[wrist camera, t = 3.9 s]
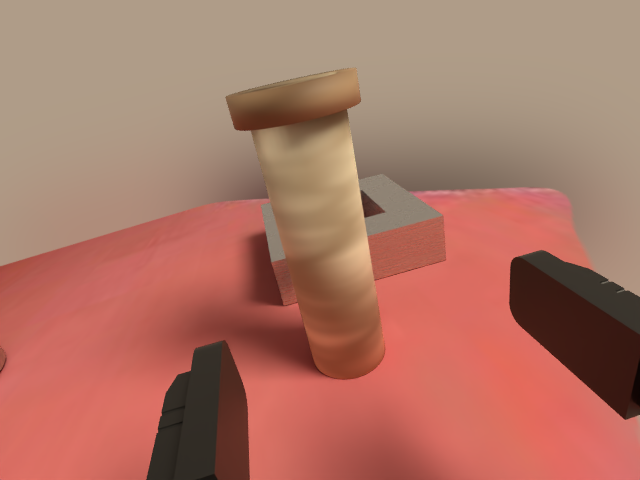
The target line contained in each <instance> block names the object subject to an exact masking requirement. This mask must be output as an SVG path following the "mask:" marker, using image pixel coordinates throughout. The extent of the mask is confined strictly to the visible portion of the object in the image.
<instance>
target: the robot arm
mask: <svg viewBox="0 0 640 480" xmlns="http://www.w3.org/2000/svg"><path fill="white" fill-rule="evenodd" d="M509 305H510V310H511V313H512V315H513V317H514V319H515V320H516V322H517V323H518V324H519V325H520V326H521V327H522V328H523V329H524V330H525V331H526V332H528V333H529V334H530V335H531V336H532V337H533V338H534V339H535V340H537V341H538V342H539V343H540V344H541V345H542V346H543V347H544V348H545V349H547V350H548V351H549V352H550V353H551V354H552V355H553V356H554V357H556V358H557V359H558V360H559V361H560V362H561V363H562V364H563V365H564V366H566V367H567V368H568V369H569V370H570V371H571V372H572V373H573V374H574V375H576V376H577V377H578V378H579V379H580V380H581V381H582V382H583V383H585V384H586V385H587V386H588V387H589V388H590V389H591V390H592V391H593V392H595V393H596V394H597V395H598V396H599V397H600V398H601V399H602V400H604V401H605V402H606V403H607V404H608V405H609V406H610V407H611V408H612V409H614V410H615V411H616V412H617V413H618V414H619V415H620V416H621V417H622V418H624V419H625V420H626V419H629V418H632V417H635V416H638V415H640V297H639V296H637V295H635V294H633V293H632V292H630V291H625V290H624V288H623V287H621V286H619V285H617V284H615V283H614V282H609V281H608V279H606V278H605V277H603V276H601V275H599V274H598V273H596V272H594V271H592V270H590V269H588V268H585V267H581V266H578V265H575V264H571V263H568V262H564V261H562V260H560V259H559V258H557V257H555V256H553V255H552V254H550V253H548V252H546V251H543V250H540V251H536V252H533V253H529V254H526V255H522V256H519V257H515V258H514V259H513V260H512V262H511V267H510V299H509ZM5 360H6V355H5V352H4V350H3V349H2V348H1V346H0V370H1V369H2V367H3V365H4V363H5ZM161 413H162V416H161V417H160V421H159V426H158V433H157V435H156V439H155V444H154V448H153V452H152V457H151V461H150V466H149V470H148V475H147V479H146V480H250V475H249V441H248V407H247V399H246V393H245V389H244V385H243V382H242V380H241V377H240V375H239V372H238V370H237V367H236V364H235V362H234V359H233V357H232V354H231V352H230V349H229V347H228V344H227V343H226V341H225V340H223V341H219V342H216V343H212V344H209V345H205V346H202V347H198V348H196V349H195V350H194V354H193V360H192V366H191V371H189V372H186V373H182V374H179V375H177V377H176V378H175V380H174V381H173V383H172V385H171V386H170V388H169V389H168V391H167V392H166V395H165V399H164V403H163V408H162V412H161Z"/></svg>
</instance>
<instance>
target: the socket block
mask: <svg viewBox="0 0 640 480" xmlns="http://www.w3.org/2000/svg"><path fill="white" fill-rule="evenodd" d="M358 182H359V188H360V194H361V200H362V207H363V213H364V219H365V225H366V232H367V238H368V244H369V250H370V257H371V263H372V269H373V275H374V280H377V279H380V278H384V277H387V276H391V275H394V274H398V273H401V272H405V271H408V270H412V269H415V268H419V267H423V266H426V265H430V264H433V263H437V262H440V261H444V260H446V253H445V236H444V219H443V215H442V214H440V213H439V212H437V211H436V210H434V209H433V208H432V207H430V206H429V205H427V204H426V203H424V202H423V201H421V200H420V199H418V198H417V197H415V196H414V195H413V194H411V193H410V192H408V191H407V190H405V189H404V188H402V187H401V186H399V185H398V184H396V183H395V182H394V181H392V180H391V179H389V178H388V177H386V176H385V175H383V174H380V175H376V176H372V177H368V178H364V179H360V180H358ZM261 208H262V213H263V219H264V224H265V230H266V235H267V241H268V247H269V252H270V258H271V263H272V266H273V270H274V273H275V277H276V280H277V283H278V287H279V290H280V294H281V297H282V301H283V304H284V306H285V305H289V304H292V303H296V302H298V301H297V298H296V294H295V290H294V287H293V283H292V279H291V276H290V272H289V268H288V265H287V261H286V257H285V254H284V250H283V247H282V243H281V239H280V236H279V232H278V228H277V225H276V221H275V217H274V214H273V210H272V206H271V203H267V204H263V205H261Z"/></svg>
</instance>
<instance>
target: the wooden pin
mask: <svg viewBox="0 0 640 480" xmlns="http://www.w3.org/2000/svg"><path fill="white" fill-rule="evenodd" d="M226 101H227V104H228V108H229V111H230V114H231V118H232V121H233V125H234V128H235V129H236V130H240V131H243V130H244V131H246V130H247V131H248V130H251V133H252V137H253V141H254V144H255V148H256V151H257V155H258V159H259V162H260V166H261V170H262V173H263V177H264V181H265V184H266V188H267V191H268V195H269V199H270V203H271V206H272V210H273V214H274V217H275V221H276V225H277V228H278V232H279V236H280V239H281V243H282V247H283V250H284V254H285V257H286V261H287V265H288V268H289V272H290V276H291V279H292V283H293V287H294V290H295V294H296V298H297V301H298V305H299V309H300V312H301V316H302V320H303V323H304V327H305V331H306V334H307V338H308V342H309V345H310V349H311V353H312V356H313V360H314V363H315V365H316V367H317V368H318V369H319V371H321V372H322V373H323V374H325V375H327V376H329V377H332V378H336V379H352V378H357V377H360V376H363V375H365V374H367V373H369V372H371V371H372V370H374V369H375V368H376V367H377V366H378V365H379V364H380V362H381V361H382V359H383V357H384V354H385V344H384V338H383V331H382V325H381V319H380V313H379V306H378V300H377V294H376V288H375V282H374V275H373V269H372V263H371V257H370V250H369V244H368V238H367V232H366V225H365V219H364V213H363V207H362V200H361V194H360V188H359V182H358V176H357V169H356V164H355V157H354V151H353V145H352V138H351V133H350V126H349V119H348V113H347V109H348V108H351V107H353V106H355V105H357V104H359V103H360V102H361V98H360V91H359V84H358V77H357V70H356V68H347V69H341V70H335V71H329V72H324V73H319V74H314V75H309V76H304V77H299V78H296V79H290V80H286V81H282V82H277V83H273V84H269V85H265V86H260V87H257V88H252V89H249V90H245V91H241V92H238V93H234V94H231V95H228V96H226Z"/></svg>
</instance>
